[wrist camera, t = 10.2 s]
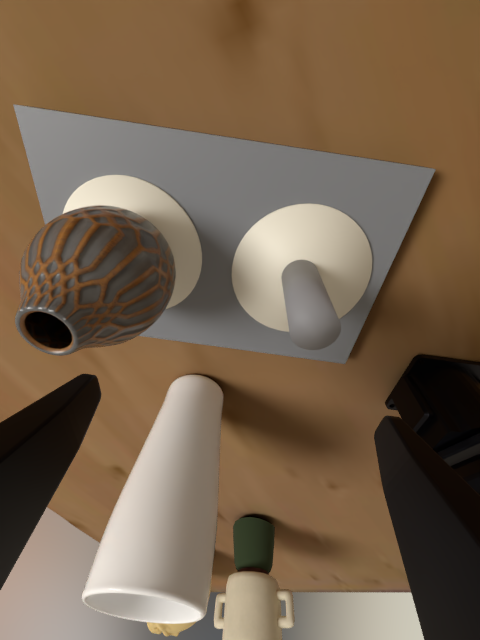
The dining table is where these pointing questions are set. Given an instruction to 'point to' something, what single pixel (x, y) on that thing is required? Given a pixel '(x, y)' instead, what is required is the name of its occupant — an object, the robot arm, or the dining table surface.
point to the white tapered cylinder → (165, 516)
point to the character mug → (253, 587)
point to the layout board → (238, 225)
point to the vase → (93, 280)
